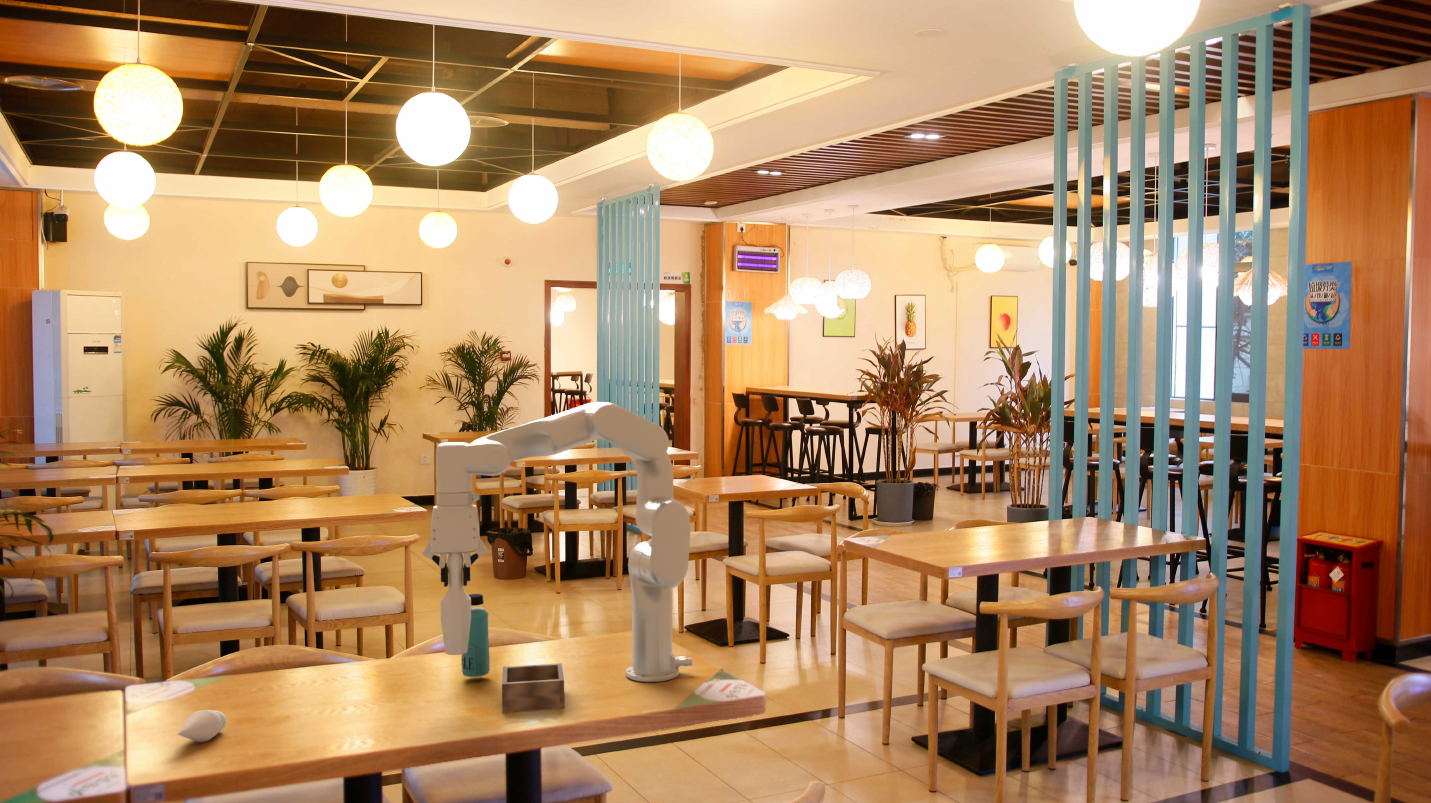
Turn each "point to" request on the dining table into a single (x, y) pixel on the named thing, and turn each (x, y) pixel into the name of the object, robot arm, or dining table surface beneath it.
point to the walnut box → (532, 687)
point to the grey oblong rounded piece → (203, 725)
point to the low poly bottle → (456, 609)
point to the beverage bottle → (477, 641)
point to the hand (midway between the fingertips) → (455, 584)
